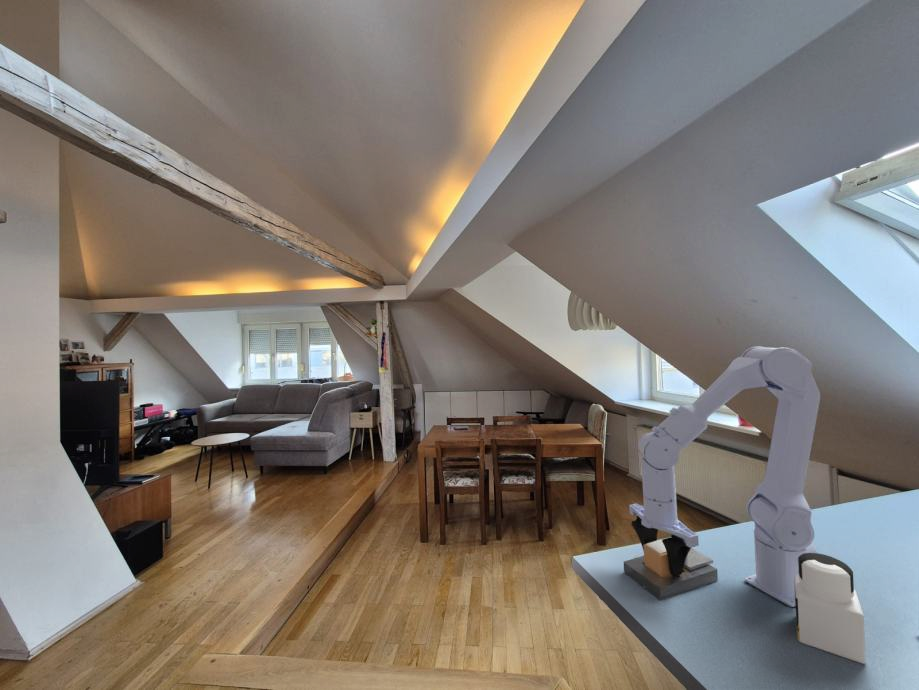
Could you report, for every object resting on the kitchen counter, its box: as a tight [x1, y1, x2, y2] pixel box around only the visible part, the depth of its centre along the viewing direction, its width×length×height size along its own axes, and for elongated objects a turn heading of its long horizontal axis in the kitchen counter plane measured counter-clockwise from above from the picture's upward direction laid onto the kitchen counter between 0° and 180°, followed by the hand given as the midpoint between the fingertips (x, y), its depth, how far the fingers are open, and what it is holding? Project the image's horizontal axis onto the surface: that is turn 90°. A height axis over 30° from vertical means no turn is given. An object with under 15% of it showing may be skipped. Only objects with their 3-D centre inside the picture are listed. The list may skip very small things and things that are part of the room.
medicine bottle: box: [794, 552, 867, 665], centre depth 58 cm, size 7×7×12 cm
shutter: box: [683, 547, 714, 570], centre depth 76 cm, size 6×6×2 cm
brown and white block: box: [643, 539, 672, 578], centre depth 74 cm, size 4×4×6 cm
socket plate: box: [623, 555, 719, 601], centre depth 75 cm, size 14×9×2 cm, turn 108°
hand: (663, 565), depth 74 cm, fingers open, 5 cm apart
